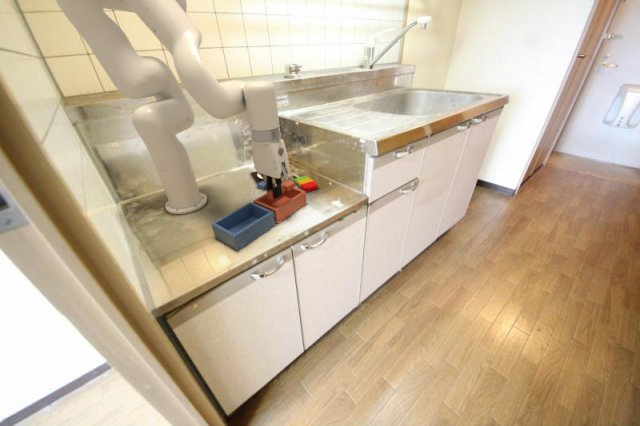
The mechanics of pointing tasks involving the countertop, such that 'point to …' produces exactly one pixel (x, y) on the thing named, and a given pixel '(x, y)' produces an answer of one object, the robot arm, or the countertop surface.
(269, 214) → the blue bin
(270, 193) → the terracotta spoon
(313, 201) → the countertop surface
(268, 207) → the terracotta bin
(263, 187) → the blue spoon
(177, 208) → the robot arm
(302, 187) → the popsicle
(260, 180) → the hamburger
